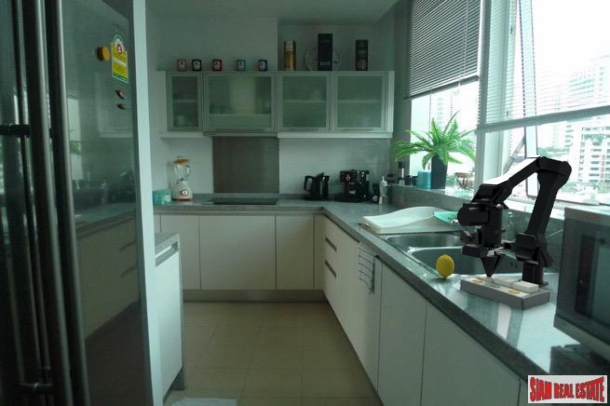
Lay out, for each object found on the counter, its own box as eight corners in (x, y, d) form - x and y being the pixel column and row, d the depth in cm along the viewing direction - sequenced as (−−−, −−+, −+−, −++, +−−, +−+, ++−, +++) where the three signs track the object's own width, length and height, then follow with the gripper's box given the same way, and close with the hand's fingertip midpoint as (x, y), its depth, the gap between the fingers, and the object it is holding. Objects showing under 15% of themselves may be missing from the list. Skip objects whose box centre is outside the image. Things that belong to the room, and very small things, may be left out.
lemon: (449, 275, 126) (450, 252, 125) (456, 280, 121) (457, 256, 120) (433, 276, 126) (433, 252, 125) (439, 280, 121) (440, 256, 120)
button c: (522, 289, 106) (522, 280, 105) (538, 294, 102) (538, 285, 102) (512, 292, 103) (512, 283, 103) (528, 296, 100) (528, 287, 99)
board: (485, 283, 118) (486, 273, 118) (549, 302, 101) (550, 290, 101) (460, 289, 112) (460, 278, 112) (522, 310, 96) (523, 297, 95)
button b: (503, 284, 110) (503, 276, 110) (518, 288, 107) (518, 279, 106) (494, 286, 108) (494, 278, 108) (508, 291, 104) (509, 282, 104)
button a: (486, 281, 115) (486, 273, 115) (499, 285, 111) (500, 277, 111) (477, 283, 113) (477, 275, 113) (490, 288, 109) (490, 279, 109)
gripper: (486, 219, 122) (484, 266, 124) (447, 223, 113) (445, 274, 115) (520, 223, 112) (517, 274, 114) (480, 228, 103) (477, 284, 105)
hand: (488, 276), depth 112 cm, fingers closed, pressing on button a
